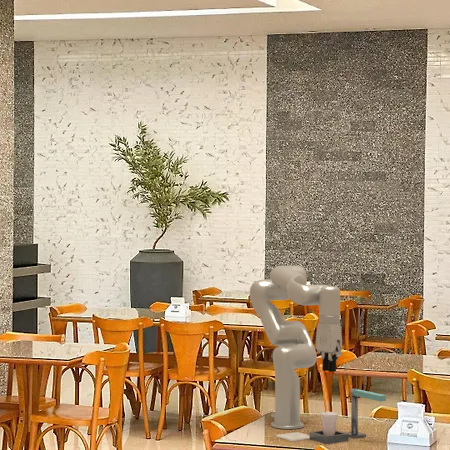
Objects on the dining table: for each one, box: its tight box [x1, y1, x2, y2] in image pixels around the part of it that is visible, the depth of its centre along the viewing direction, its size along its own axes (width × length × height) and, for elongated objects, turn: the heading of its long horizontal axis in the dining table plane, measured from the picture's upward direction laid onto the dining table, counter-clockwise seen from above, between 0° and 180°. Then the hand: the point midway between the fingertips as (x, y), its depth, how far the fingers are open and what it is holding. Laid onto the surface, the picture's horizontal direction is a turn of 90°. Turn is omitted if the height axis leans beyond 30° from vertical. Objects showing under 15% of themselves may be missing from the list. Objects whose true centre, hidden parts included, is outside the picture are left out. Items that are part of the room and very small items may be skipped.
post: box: [346, 394, 367, 439], centre depth 370 cm, size 6×6×15 cm
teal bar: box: [350, 388, 387, 402], centre depth 364 cm, size 18×3×2 cm, turn 32°
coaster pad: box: [275, 431, 311, 442], centre depth 368 cm, size 10×10×1 cm
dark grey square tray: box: [309, 429, 349, 445], centre depth 364 cm, size 10×10×2 cm
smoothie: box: [320, 400, 339, 436], centre depth 364 cm, size 6×6×14 cm
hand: (329, 370), depth 364 cm, fingers open, 2 cm apart
